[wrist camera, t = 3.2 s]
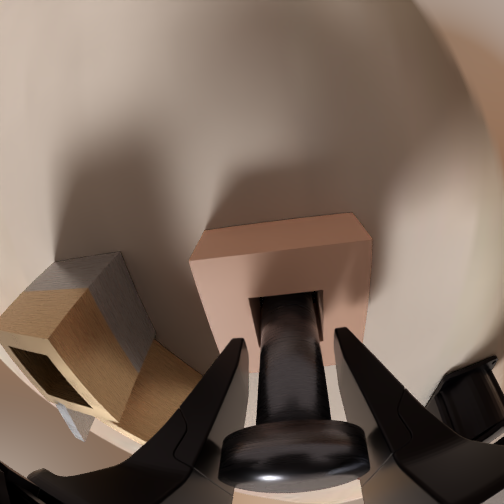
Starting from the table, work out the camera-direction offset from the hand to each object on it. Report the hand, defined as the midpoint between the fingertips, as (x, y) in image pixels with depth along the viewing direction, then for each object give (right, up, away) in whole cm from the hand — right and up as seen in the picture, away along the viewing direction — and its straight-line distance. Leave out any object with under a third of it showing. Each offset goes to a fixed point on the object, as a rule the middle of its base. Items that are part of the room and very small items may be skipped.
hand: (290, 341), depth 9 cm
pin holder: (0, +2, +3) cm, 4 cm away
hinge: (-9, -2, +6) cm, 11 cm away
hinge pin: (0, +2, +3) cm, 4 cm away
